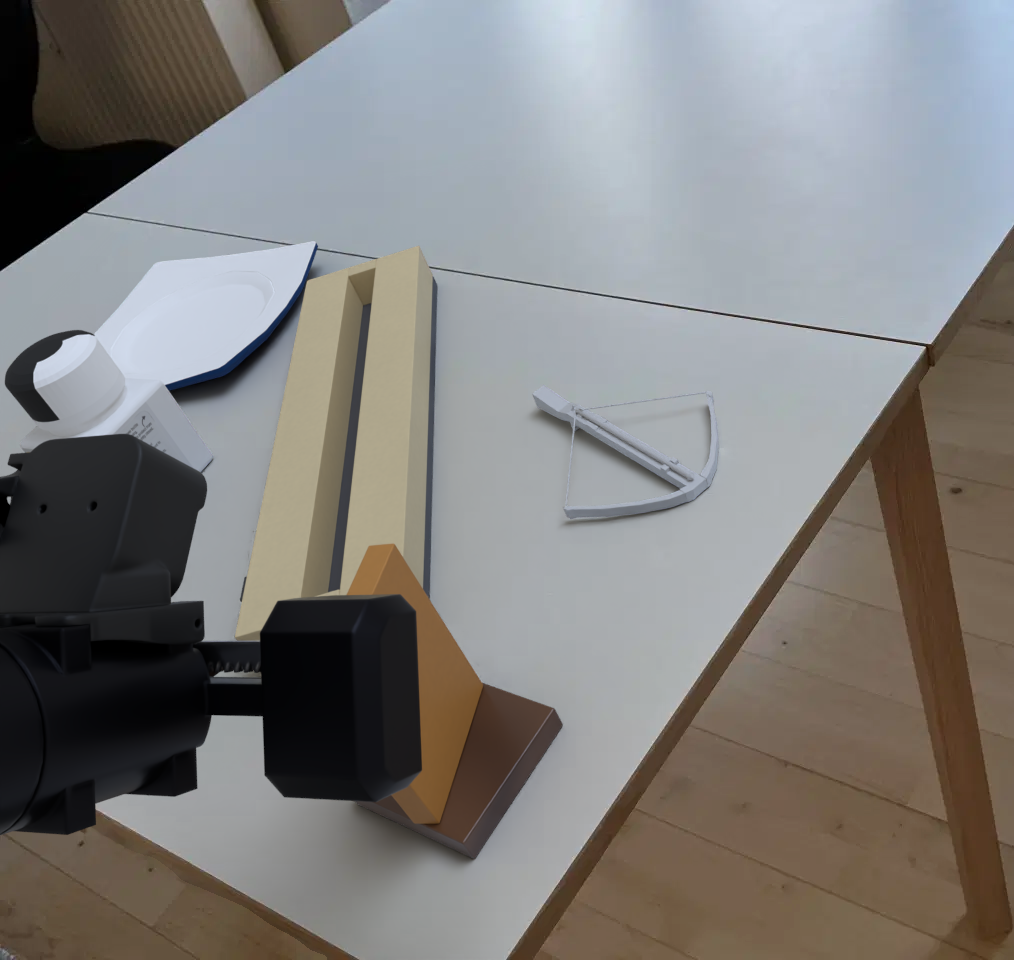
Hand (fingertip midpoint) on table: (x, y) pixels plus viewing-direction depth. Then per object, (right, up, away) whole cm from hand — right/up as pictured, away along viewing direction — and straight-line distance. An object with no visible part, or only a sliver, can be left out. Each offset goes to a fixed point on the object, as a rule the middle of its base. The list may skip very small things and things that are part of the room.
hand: (311, 658), depth 45 cm
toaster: (-6, +10, +34) cm, 36 cm away
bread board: (+4, -7, +11) cm, 14 cm away
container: (-23, +7, +38) cm, 45 cm away
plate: (-26, +20, +54) cm, 63 cm away
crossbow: (+12, +9, +27) cm, 31 cm away
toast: (+4, -6, +10) cm, 13 cm away
